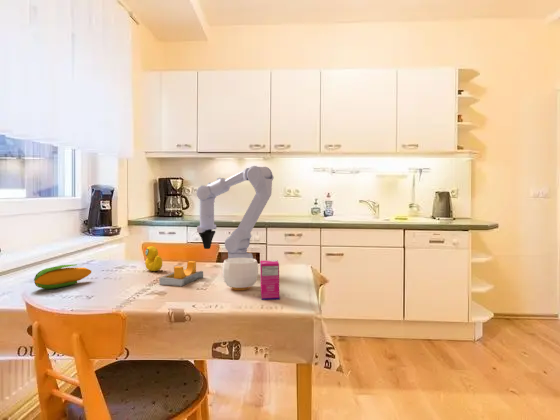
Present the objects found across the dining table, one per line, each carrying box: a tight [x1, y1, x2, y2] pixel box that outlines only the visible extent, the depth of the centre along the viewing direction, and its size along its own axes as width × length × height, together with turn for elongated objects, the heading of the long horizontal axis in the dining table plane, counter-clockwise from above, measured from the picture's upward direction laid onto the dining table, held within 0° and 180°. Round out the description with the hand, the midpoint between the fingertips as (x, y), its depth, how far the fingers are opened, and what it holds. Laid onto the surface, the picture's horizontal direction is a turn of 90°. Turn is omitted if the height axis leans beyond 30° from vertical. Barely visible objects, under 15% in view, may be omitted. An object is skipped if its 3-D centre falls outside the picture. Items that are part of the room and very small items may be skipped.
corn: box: [33, 264, 92, 290], centre depth 145 cm, size 7×8×20 cm
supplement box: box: [259, 259, 281, 301], centre depth 130 cm, size 6×6×12 cm
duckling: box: [144, 245, 163, 272], centre depth 170 cm, size 11×5×10 cm, turn 47°
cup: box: [221, 258, 259, 291], centre depth 142 cm, size 12×12×10 cm
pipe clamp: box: [173, 260, 197, 279], centre depth 152 cm, size 12×4×6 cm, turn 165°
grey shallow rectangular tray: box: [158, 270, 204, 287], centre depth 153 cm, size 11×15×2 cm
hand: (207, 248), depth 169 cm, fingers closed
